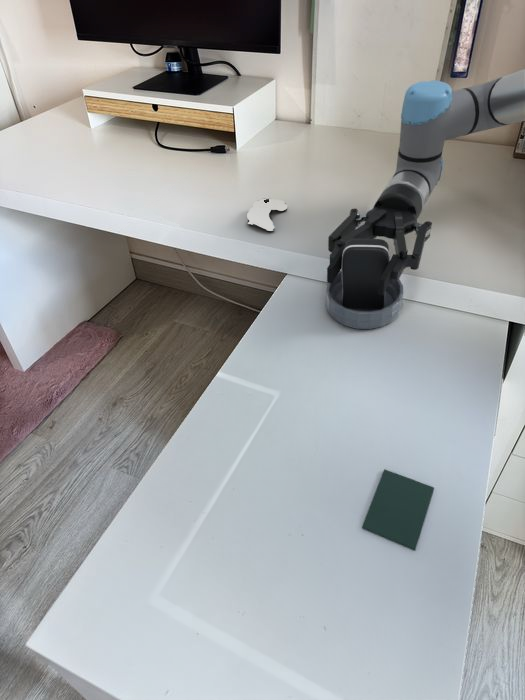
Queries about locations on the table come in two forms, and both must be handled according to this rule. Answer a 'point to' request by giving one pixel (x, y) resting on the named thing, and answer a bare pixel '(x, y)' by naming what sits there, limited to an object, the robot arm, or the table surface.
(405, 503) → the mat
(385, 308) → the bowl
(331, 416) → the table surface
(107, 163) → the table surface
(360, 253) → the battery charger
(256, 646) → the table surface
